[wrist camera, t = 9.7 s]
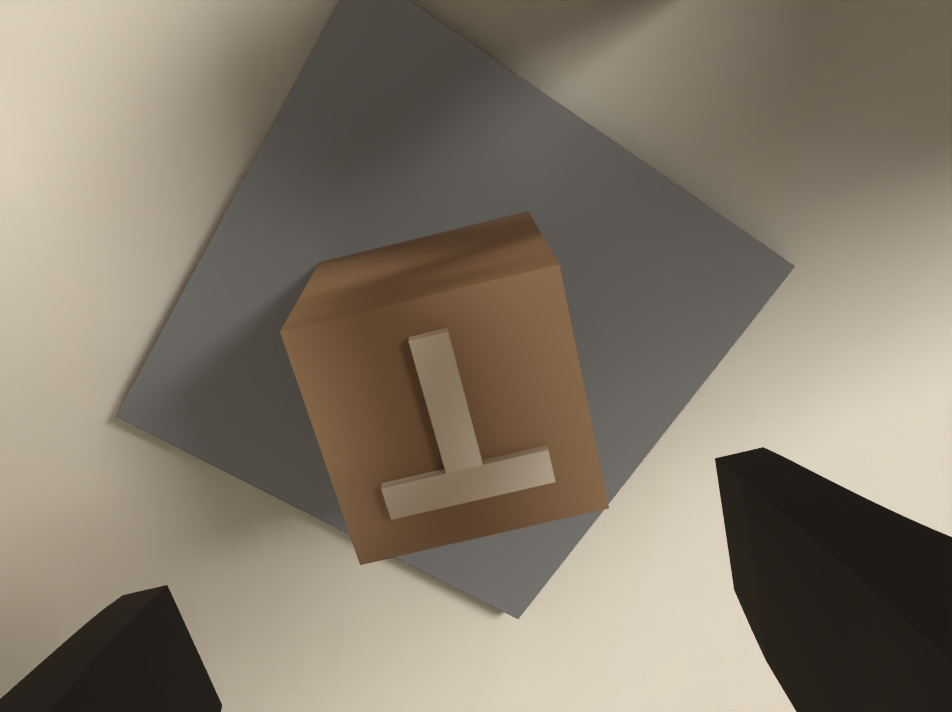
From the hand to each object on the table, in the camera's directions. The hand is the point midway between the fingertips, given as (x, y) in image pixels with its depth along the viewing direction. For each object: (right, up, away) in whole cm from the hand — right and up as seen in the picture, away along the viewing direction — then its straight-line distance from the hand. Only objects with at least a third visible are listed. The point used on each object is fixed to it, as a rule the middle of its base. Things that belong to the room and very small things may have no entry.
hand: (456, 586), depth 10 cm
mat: (0, +4, +10) cm, 10 cm away
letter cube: (0, +3, +9) cm, 10 cm away
